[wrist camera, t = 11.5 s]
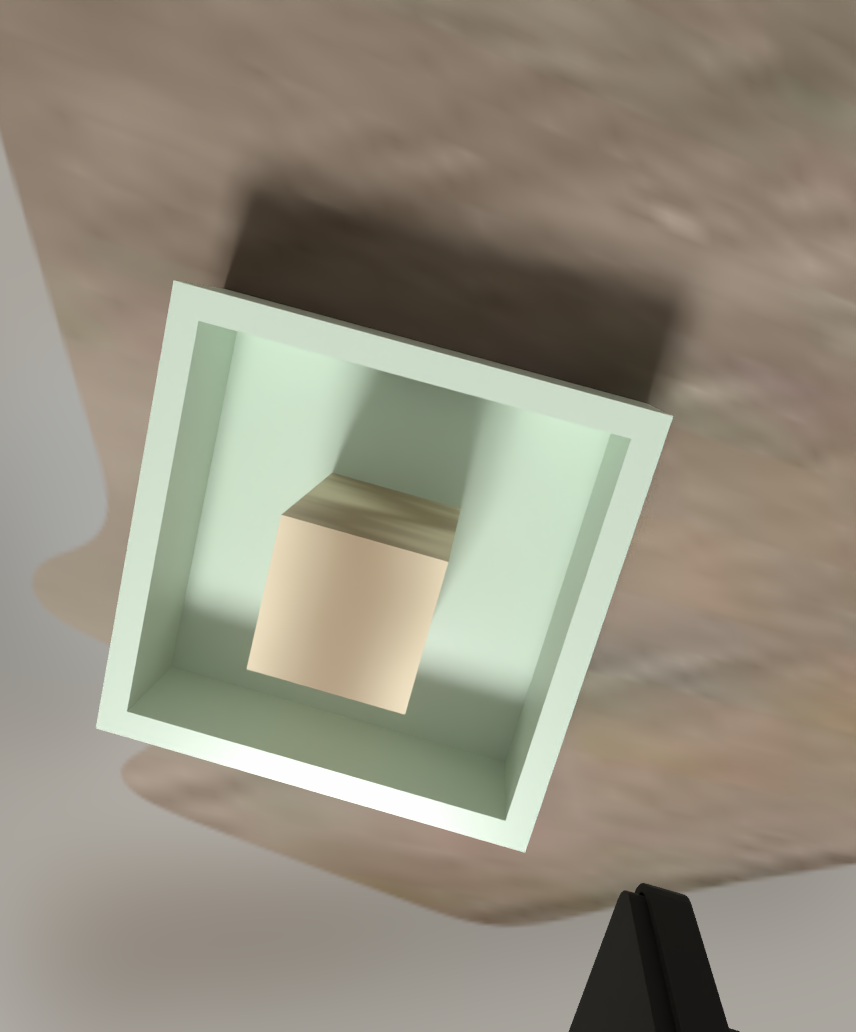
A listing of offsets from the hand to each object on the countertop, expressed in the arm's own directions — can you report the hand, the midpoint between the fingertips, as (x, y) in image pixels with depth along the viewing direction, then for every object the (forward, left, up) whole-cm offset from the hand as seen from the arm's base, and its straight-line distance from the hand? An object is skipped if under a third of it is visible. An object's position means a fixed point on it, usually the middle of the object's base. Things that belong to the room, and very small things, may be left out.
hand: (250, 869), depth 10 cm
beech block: (+1, +2, -20) cm, 20 cm away
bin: (+1, +2, -21) cm, 21 cm away
